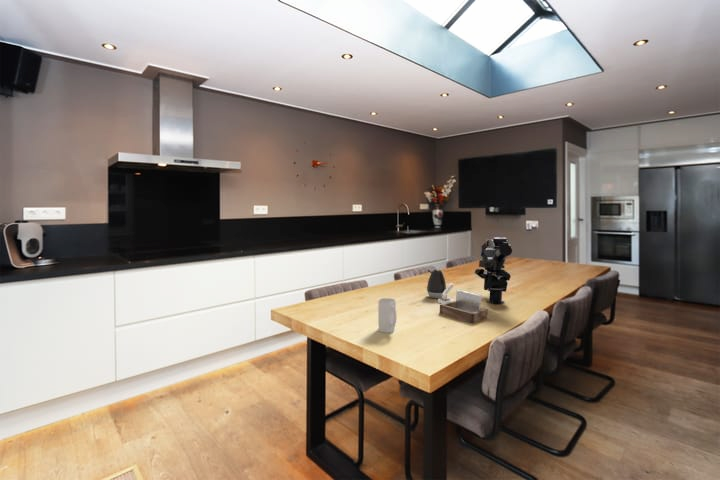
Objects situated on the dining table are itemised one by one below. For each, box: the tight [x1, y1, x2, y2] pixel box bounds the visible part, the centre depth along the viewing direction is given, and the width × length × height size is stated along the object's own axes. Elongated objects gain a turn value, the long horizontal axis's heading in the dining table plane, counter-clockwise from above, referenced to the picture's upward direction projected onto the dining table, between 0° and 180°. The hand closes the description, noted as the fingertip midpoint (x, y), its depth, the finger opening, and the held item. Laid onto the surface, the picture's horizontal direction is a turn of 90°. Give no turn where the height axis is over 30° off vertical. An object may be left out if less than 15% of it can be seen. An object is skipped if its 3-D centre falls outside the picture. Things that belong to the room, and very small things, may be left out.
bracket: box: [455, 289, 482, 313], centre depth 165 cm, size 8×12×10 cm
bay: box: [439, 300, 489, 324], centre depth 165 cm, size 11×17×4 cm, turn 39°
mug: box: [377, 297, 398, 334], centre depth 144 cm, size 10×7×12 cm, turn 27°
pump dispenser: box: [426, 268, 447, 300], centre depth 196 cm, size 10×10×15 cm
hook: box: [437, 282, 455, 305], centre depth 186 cm, size 8×12×7 cm
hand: (485, 289), depth 175 cm, fingers closed
